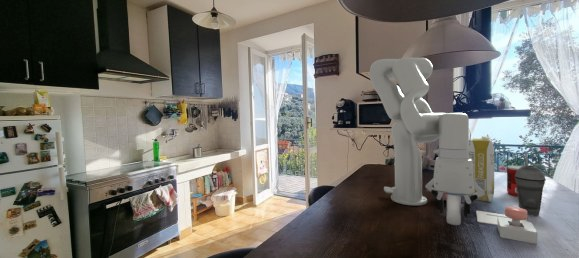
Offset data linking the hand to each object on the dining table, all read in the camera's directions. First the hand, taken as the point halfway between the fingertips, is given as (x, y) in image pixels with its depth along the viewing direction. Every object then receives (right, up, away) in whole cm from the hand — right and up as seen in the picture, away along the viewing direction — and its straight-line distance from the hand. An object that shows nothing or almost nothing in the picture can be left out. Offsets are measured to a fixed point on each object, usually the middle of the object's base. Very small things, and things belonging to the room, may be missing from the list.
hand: (453, 213), depth 76 cm
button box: (+11, -3, -9) cm, 14 cm away
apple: (+10, -2, +20) cm, 22 cm away
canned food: (+42, -1, +23) cm, 48 cm away
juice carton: (+24, -1, +21) cm, 32 cm away
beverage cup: (+28, -2, +5) cm, 28 cm away
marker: (0, -3, 0) cm, 3 cm away
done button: (+11, -1, -9) cm, 14 cm away
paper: (+15, -2, +1) cm, 15 cm away
